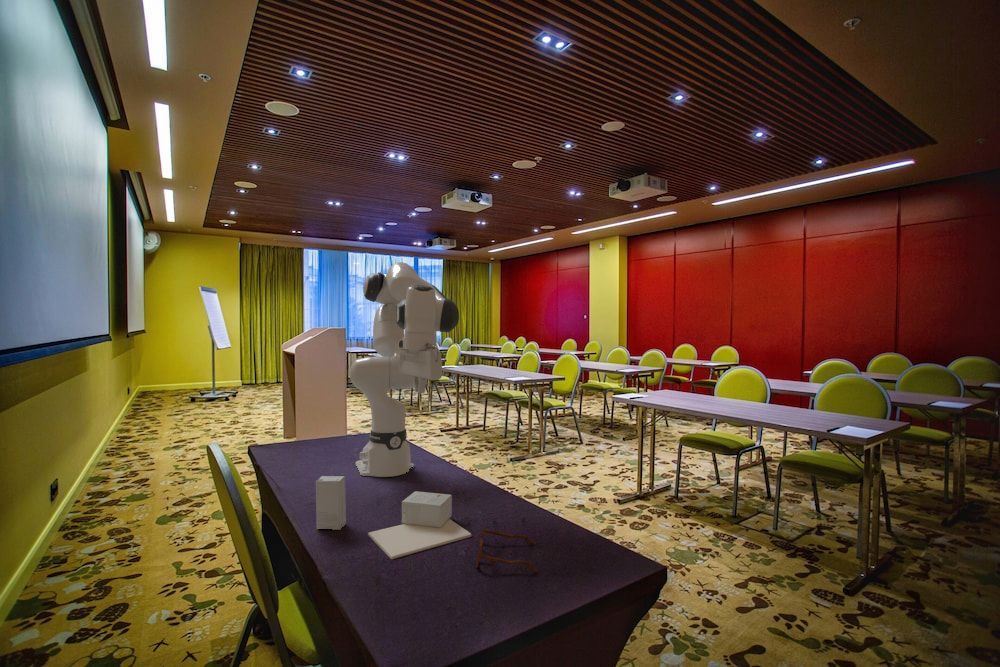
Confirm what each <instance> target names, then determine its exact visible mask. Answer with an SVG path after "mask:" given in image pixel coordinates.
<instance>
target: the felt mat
mask: <svg viewBox="0 0 1000 667" xmlns="http://www.w3.org/2000/svg"><path fill="white" fill-rule="evenodd" d="M367 536H368V537H369V538H370V539H371V541H373V542H374V543H375V544H376V545H377V546H378V547H379V548H380V549H381V550H382V551H383V552H384V554H386V555H387V557H388V558H389V559H390V560H394V559H398V558H401V557H406V556H408V555H411V554H415V553H419V552H422V551H423V552H424V551H425V550H430V549H433V548H435V547H440V546H444V545H446V544H447V545H448V544H450V543H454V542H457V541H461V540H464V539H468V538H471V537H472V533H471V532H470V531H468V530H467V529H465V528H463V527H462V526H460V525H459V524H458V523H456V522H455V521H453V520H452V519H450V518H449V519H448V520H447V521H446V522H445V523H444V524H443V526H442V527H441V528H438V527H429V526H421V525H412V524H404V523H401V524H398V525H394V526H391V527H386V528H381V529H377V530H374V531H370V532H367Z"/></svg>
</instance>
